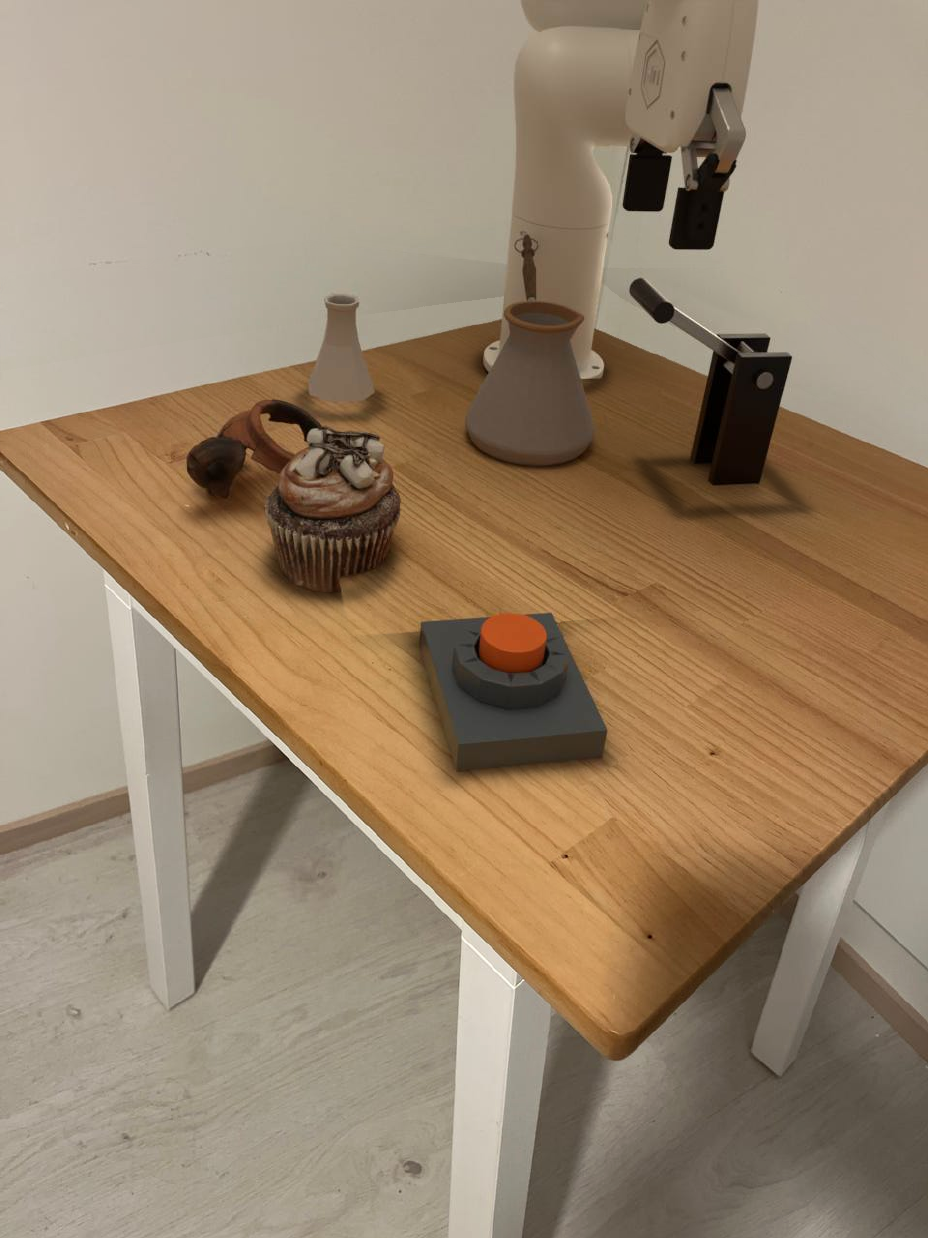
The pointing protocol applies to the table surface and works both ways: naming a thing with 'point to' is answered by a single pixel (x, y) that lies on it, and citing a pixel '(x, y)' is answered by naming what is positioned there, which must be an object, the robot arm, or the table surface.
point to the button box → (509, 700)
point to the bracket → (740, 411)
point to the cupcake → (333, 509)
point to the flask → (341, 355)
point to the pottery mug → (244, 446)
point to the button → (512, 643)
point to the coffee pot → (533, 385)
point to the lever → (683, 321)
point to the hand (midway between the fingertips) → (665, 228)
